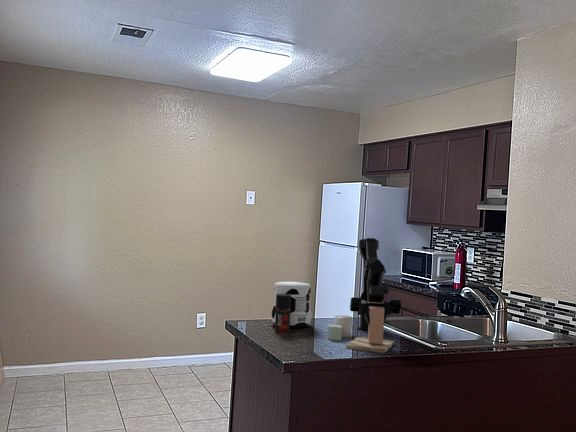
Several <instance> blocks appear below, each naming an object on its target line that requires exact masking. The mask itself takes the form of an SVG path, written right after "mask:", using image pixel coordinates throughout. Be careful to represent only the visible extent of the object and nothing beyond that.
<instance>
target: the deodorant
mask: <svg viewBox="0 0 576 432" xmlns="http://www.w3.org/2000/svg"><path fill="white" fill-rule="evenodd" d="M290 309H291V295H289V294H277V295H276V318H275V324H274V333H276V334H284V335H285V334H290V332H291V331H290V328H291V327H290Z"/></svg>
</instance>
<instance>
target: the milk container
mask: <svg viewBox="0 0 576 432" xmlns="http://www.w3.org/2000/svg"><path fill="white" fill-rule="evenodd" d="M273 289H274V292H273V305H272V308H271V313H270V315H271V321H272V324H274V325H275V318H276V295H277V294H289V295H291V309H290V328H292V329H293V328H303V327H307V326H309V325H310V324H311V321H312V315H313V314H312V308H311V284H310V283H308V282H307V283H306V282H300V281H277V282H275V283H274V288H273Z"/></svg>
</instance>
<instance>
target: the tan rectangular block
mask: <svg viewBox="0 0 576 432" xmlns="http://www.w3.org/2000/svg"><path fill="white" fill-rule="evenodd" d="M369 318H370V324H369V325H368V330H367V331H368V332H367V338H368V341H369V343H383V340H384V327H385V324H384V308H383V307H377V306H369Z"/></svg>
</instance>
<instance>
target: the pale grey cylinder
mask: <svg viewBox="0 0 576 432" xmlns="http://www.w3.org/2000/svg"><path fill="white" fill-rule="evenodd" d="M333 325H342V338H351V337H352V336H353V335H352V330H353V317H352V316H351V315H345V314H344V315H343V314H342V315H341V314H340V315H339V314H338V315H335V316H334V324H333Z"/></svg>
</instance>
